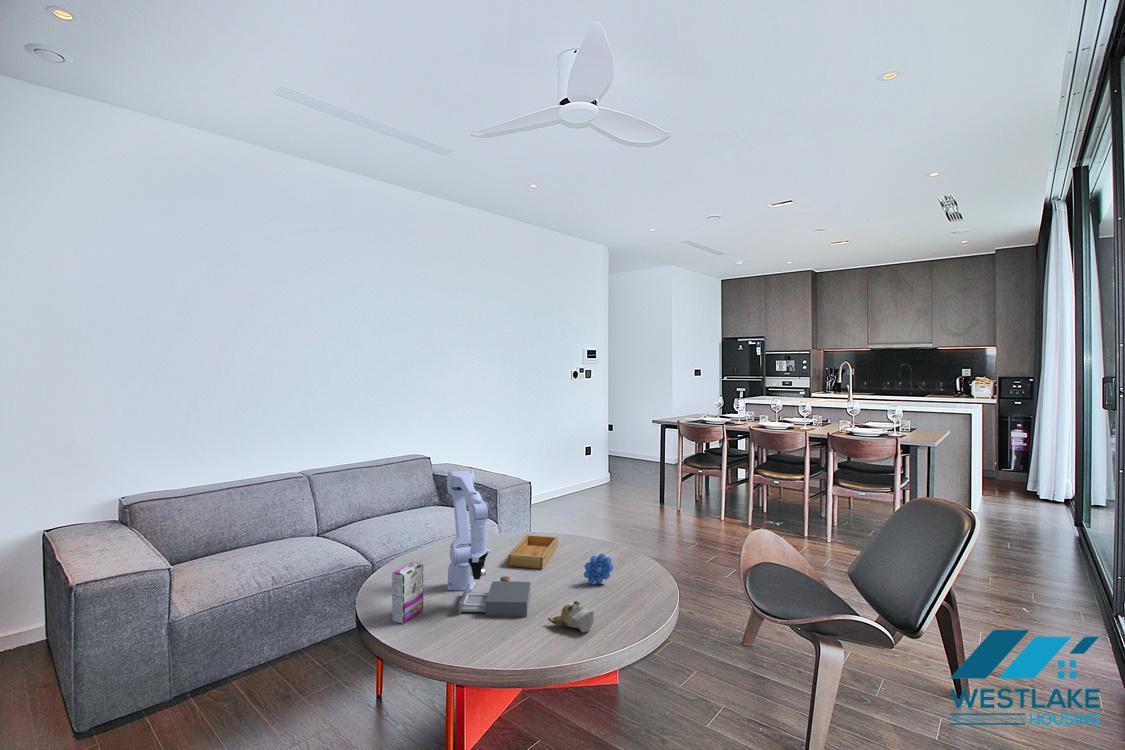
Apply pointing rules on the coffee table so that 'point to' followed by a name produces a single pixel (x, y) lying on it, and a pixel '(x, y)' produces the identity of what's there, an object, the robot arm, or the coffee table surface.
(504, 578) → the walnut disc stand
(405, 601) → the candy bar box
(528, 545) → the tray
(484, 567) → the silver disc
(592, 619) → the ceramic sculpture
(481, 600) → the tray
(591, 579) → the blue flower shape
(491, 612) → the player housing
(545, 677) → the coffee table surface
